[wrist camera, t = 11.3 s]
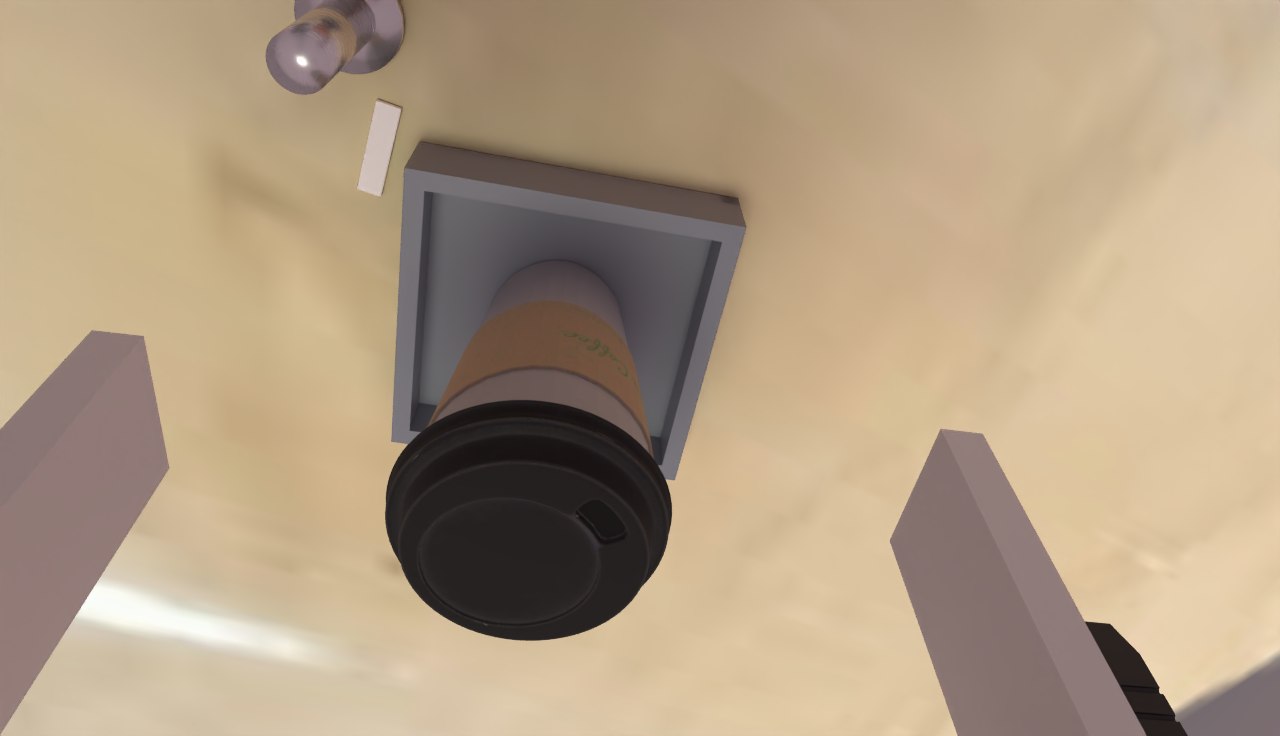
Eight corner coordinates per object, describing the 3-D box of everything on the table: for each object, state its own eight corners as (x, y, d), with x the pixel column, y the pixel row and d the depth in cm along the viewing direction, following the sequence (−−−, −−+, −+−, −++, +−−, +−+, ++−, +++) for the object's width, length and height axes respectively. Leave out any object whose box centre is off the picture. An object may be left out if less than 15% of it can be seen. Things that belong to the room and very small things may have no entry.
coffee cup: (697, 286, 39) (734, 520, 27) (593, 430, 43) (582, 688, 31) (509, 183, 36) (449, 390, 24) (417, 348, 41) (326, 596, 28)
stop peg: (296, -50, 32) (229, -16, 26) (406, -28, 32) (363, 10, 27) (298, 60, 34) (237, 112, 29) (402, 80, 35) (361, 135, 29)
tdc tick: (377, 99, 35) (376, 100, 35) (401, 107, 35) (401, 109, 35) (358, 187, 37) (356, 189, 37) (381, 195, 37) (380, 197, 37)
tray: (419, 141, 36) (404, 168, 33) (737, 198, 38) (746, 227, 35) (404, 403, 43) (391, 441, 41) (671, 441, 45) (674, 480, 42)
